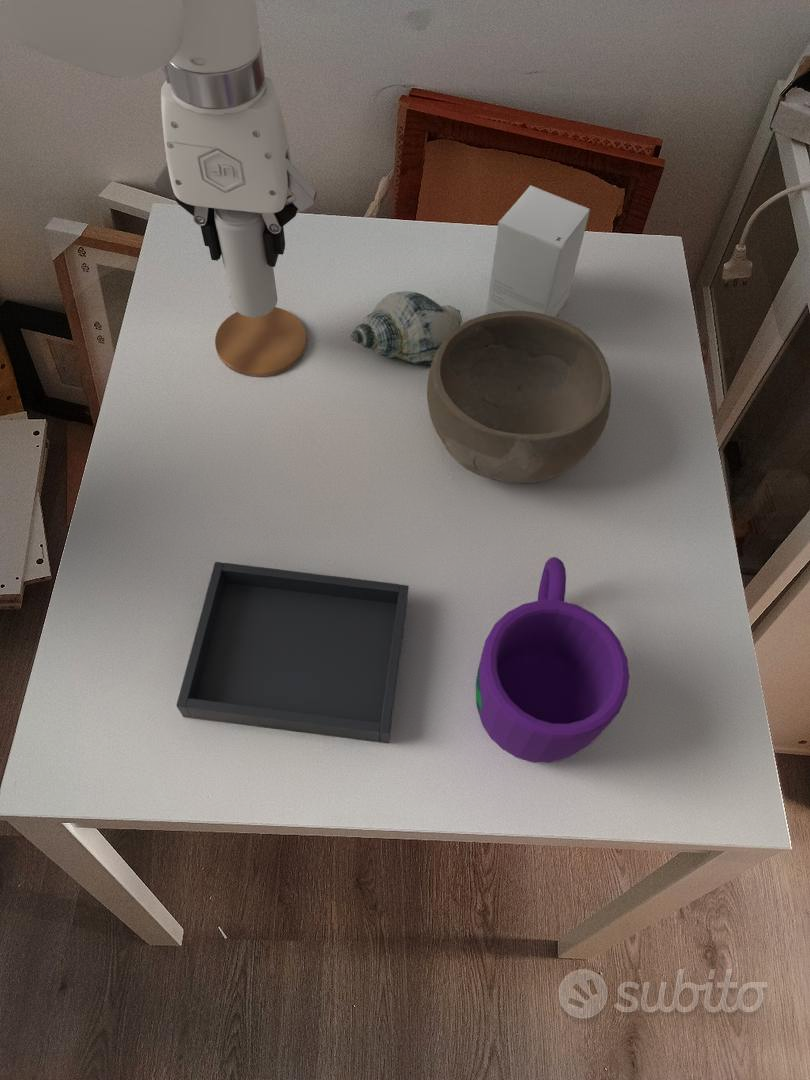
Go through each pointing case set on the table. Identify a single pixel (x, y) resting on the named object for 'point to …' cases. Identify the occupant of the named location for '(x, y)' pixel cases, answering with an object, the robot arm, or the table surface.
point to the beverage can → (246, 262)
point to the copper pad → (261, 342)
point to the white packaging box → (536, 254)
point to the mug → (550, 675)
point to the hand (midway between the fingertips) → (246, 252)
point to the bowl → (518, 395)
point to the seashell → (407, 327)
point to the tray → (296, 652)
